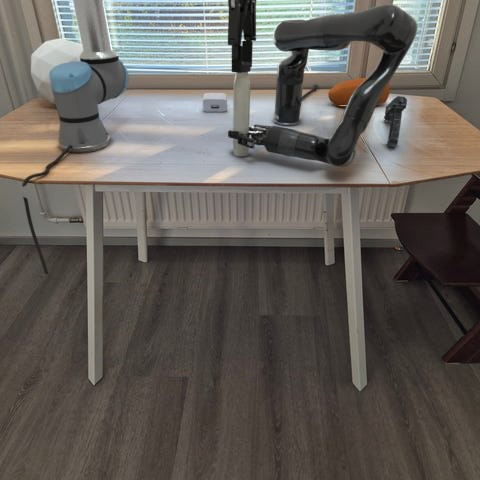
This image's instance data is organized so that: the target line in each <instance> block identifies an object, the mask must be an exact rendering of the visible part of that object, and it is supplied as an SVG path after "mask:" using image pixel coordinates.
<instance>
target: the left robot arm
mask: <svg viewBox="0 0 480 480" xmlns="http://www.w3.org/2000/svg"><path fill="white" fill-rule="evenodd" d="M72 2H73V7H74V12H75V16H76V21H77V27H78V31H79V36H80V41H81V46H82V47H83V52H82V53H81V54H80V61H81V62H80V61H74V62H69V63H63V64H60V65H57V66H55V67H54V68H53V69H52V70H51V71H50V74H49V76H50V81H51V88H52V92H53V95H54V99H55V103H56V104H55V107H56V111H57V114H58V118H59V132H58V133H59V134H58V145H59V148H60V149H61V150H62V152H61V153H60V154H59V155H58V156H57V158H56V159H55V160H53V161H51V162H50V163H48V164H47V165H46V166H45V170H44V171H41V172H39V173H32V174H30V175H28V176H27V177H26V178H24V180H23V182H22V185H21V187H26V186H27V185H28V182H29V181H30V180H32V179H34V178H39V177H44V176H45V175H47V174H48V173H49V171H50V168H51V167H53V166H55V165H56V164H58V163H59V162H60V161H61V159H62V158H63V157H64V156H66V154H67V153H74V154H76V153H77V154H81V153H82V154H83V153H90V152H96V151H99V150H102V149H104V148H106V147H107V146H108V145H109V144H110V143H111V140H110V139H111V138H110V135H109V133H108V130H107V129H106V127H105V125H104V123H103V121H102V120H101V116H100V112H99V107H98V105H100V104H102V103H105V102H107V101H110V100H113V99H117V98H118V97H119V96H120V95H122V94H124V93H125V92H126V90H127V89H128V87H129V84H130V74H129V71H128V68H127V65H124V62H123V60H121V59H119V57H120V56H119V53H118V52H117V51H115V49H114V48H113V46H112V41H111V40H112V39H111V35H110V28H109V23H108V16H107V10H106V4H105V0H72ZM227 5H228V7H227V8H228V19H227V20H228V21H227V45H228V46H231V73H235V74H236V73H242V61H245V62H250V63H251V68H252V67H253V42H256V41H257V37H256V36H257V0H227ZM242 38H243V39H242ZM22 198H23V202H24V208H25V214H26V218H27V222H28V226H29V230H30V234H31V237H32V240H33V243H34V245H35V248H36V251H37V254H38V256H39V259H40V263H41V265H42V268H43V272H44V274H45V275H48V274H49V270H48V267H47V264H46V261H45V258H44V255H43V252H42V250H41V246H40V244H39V241H38V237H37V235H36V231H35V228H34V225H33V220H32V216H31V210H30V203H29V200H28V197H26V196H22Z"/></svg>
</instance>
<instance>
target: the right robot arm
mask: <svg viewBox="0 0 480 480" xmlns="http://www.w3.org/2000/svg"><path fill="white" fill-rule="evenodd" d="M272 33H273V34H272V41H273V44H274V46H275V47H276V48H277V49H278V50H279V51H281V52H283V53H284V52H285V53H289V54H288V56H287V57H286V58H284V59H282V60H281V61H279V62H278V64H277V67H276V68H277V69H276V87H275V100H274V101H275V102H274V114H273V122H274V124H276V125H263V124H253V125H249V131H248V132H247V133H245V132H238V131H233V129H229V130H227V137H228V138H229V139H232V140H233V139H237V140H238V144H240V145H243V146H246V147H248V148H249V149H254V148H255V146H264V148H265V150H266V152H267V153H271V154H275V155H276V154H277V155H280V156H284V157H290V158H297V159H303V160H305V161H306V160H307V161H316V162H320V163H324V164H327V165H331V166H333V167H338V168H346V167H349V166H351V165H352V164H353V163H354V162H355V161H356V159H357V154H358V153H357V149H356V145H357V144H358V141H359V139H360V137H361V135H363V134H364V132H365V131H366V130H367V128H368V126H369V123H370V121H371V119H372V117H373V114H374V112H375V109H376V108H377V105H378V104H377V103H378V101H379V99H380V97H381V95H382V93H383V91H384V90H385V88H386V86H387V85H388V83H389V84H390V81H391V80H392V78H393V76H394V75H395V73H396V72H397V70H398V68H399V67H400V65H401V63H402V62H403V60H404V59H405V57H406V55H407V53H409V50H410V49H411V46H412V45H413V43H414V41H415V38H416V36H417V34H418V23H417V20H416V19H415V18H414V17H413V16H412V15H410V13H407V12H406V11H405V10H403V9H402V8H401V7H399V6H397V5H395V4H393V3H386V4H381V5H378V6H377V5H376V6H374V7H373V6H372V7H371V8H367V9H364V10H360V11H351V12H344V13H333V14H327V15H323V16H318V17H314V18H309V19H306V20H305V19H285V20H282V21H280V22H278V23H277V25H276V26H275V27H274V29H273V32H272ZM353 42H365V43H370V44H372V45H374V46H375V47H377V48H378V49H380V50H382V53H381V56H380V59H379V61H378V63H377V64H376V67H375V68H374V70H373V71H372V72H371V74H369V76H368V78H367V77H366V78H367V79H366V80H365V81H364V82H362V83H361V84H360V85H359V86H358V87H357V89H356V90H355V91H354V92H353V94H352V95H351V97H350V99H349V101H348V103H347V106H346V108H344V111H343V113H342V115H341V118H340V121H339V124H338V125H337V127H336V128H335V130H334V131H333V133H332V135H331V137H330V138H326V137H322V136H320V135H318V134H317V135H316V134H313V133H309V132H304V131H301V130H297V129H293V128H287V127H288V126H289V127H292V126H296V125H298V124H300V122H301V121H300V118H301V109H302V108H301V106H302V101H303V99H305V98H306V97H307V96H308V95H310V94H311V93H312V92H314V91H316V90H317V89H318V84H317V85H315V84H314V88H312V89H311V90H309V91H308V92H306V93H304V94H303V87H304V77H305V69H306V66H307V65H308V60H309V59H308V58H309V51H310V50H313V51H327V52H331V51H333V52H334V51H341V50H342V51H343V50H345V49H346V48H348V47H349V46H350V45H351V44H352V43H353ZM277 125H280V126H277ZM284 126H287V127H284ZM244 135H245V136H244ZM246 136H247V137H246Z"/></svg>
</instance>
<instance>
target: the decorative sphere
mask: <svg viewBox="0 0 480 480" xmlns="http://www.w3.org/2000/svg"><path fill="white" fill-rule="evenodd" d="M82 52H83V46H82V44H81V43H79V42H76V41H72V40H69V39H64V38H61V37H60V38H55V39H51V40H50V39H49V40H46V41H44V42H42V44H40V46H38V47H37V49H35V51H33V53H31V58H30V60H31V61H30V76H31V79H32V80H33V83H34V86H35V88H36V90H37V91H38V92H39V93H40V94H41V95H42V96H43V97H44V98H46V99H47V100H48V101H49V102H50V103H51V104H55V105H56V103H55V99H54V95H53V92H52V88H51V81H50V76H49V74H50V71H51V70H52V69H53V68H54V67H55V66H57V65H60V64H63V63H69V62H74V61H80V54H81V53H82ZM80 62H81V61H80Z"/></svg>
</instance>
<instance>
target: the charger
mask: <svg viewBox="0 0 480 480" xmlns="http://www.w3.org/2000/svg"><path fill="white" fill-rule="evenodd" d="M202 110H203V111H204V112H206V113H207V112H209V113H210V112H211V113H215V112H216V113H218V112H220V113H222V112H227V111H228V95H227V93H225V92H206V93H204V94H203V98H202Z"/></svg>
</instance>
